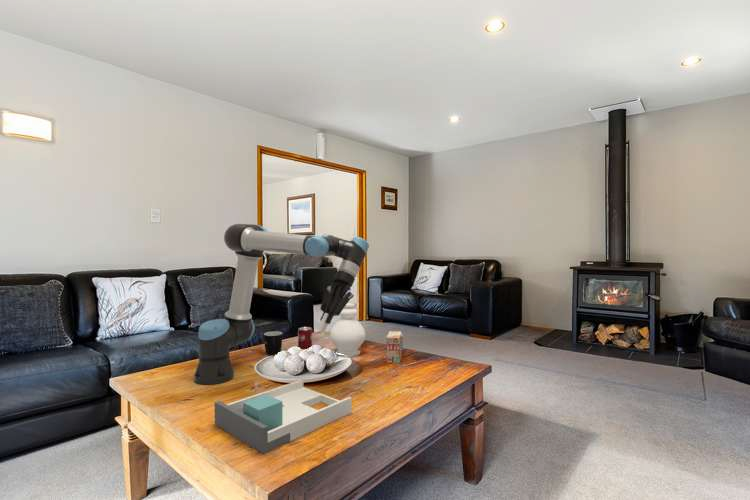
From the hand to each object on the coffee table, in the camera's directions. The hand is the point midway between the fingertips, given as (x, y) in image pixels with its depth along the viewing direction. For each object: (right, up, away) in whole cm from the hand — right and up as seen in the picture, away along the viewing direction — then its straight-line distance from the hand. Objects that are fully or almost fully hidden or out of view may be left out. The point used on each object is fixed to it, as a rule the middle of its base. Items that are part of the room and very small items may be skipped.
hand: (320, 330), depth 145 cm
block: (-13, -22, -28) cm, 38 cm away
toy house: (+30, -23, +50) cm, 63 cm away
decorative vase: (+6, -23, +56) cm, 61 cm away
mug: (-31, -23, +53) cm, 66 cm away
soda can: (-16, -23, +58) cm, 64 cm away
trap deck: (-9, -24, -18) cm, 32 cm away
